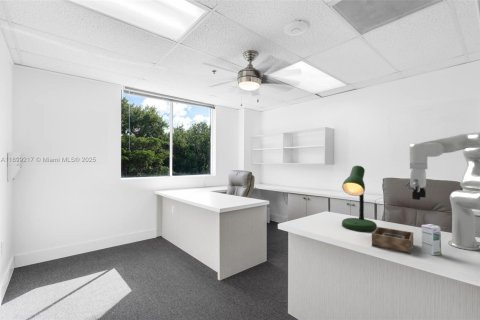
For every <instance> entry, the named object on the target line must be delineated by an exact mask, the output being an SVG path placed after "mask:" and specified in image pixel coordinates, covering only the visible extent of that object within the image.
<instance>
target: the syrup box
mask: <svg viewBox="0 0 480 320" xmlns="http://www.w3.org/2000/svg"><path fill="white" fill-rule="evenodd" d="M441 232H442V231H441V226H440V225H435V224H432V223H429V224H422V225H421V252H422V253H425V254H428V255H431V256H438V255H442V247H441V246H442V242H441V241H442V240H441V239H442V238H441V236H442V235H441Z"/></svg>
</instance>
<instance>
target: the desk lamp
mask: <svg viewBox="0 0 480 320" xmlns="http://www.w3.org/2000/svg"><path fill="white" fill-rule="evenodd" d="M365 171H366V170H365V168H364V167H363V166H362V165H354V166H353V167H352V169H351V171H350V174H349V176H348V177H347V178H346V179H345V180H344V181H343V183H342V185H341V189H342V190H343V192H344V193H346V194H347V195H350V196H356V197H357V196H358V197H359V207H358V209H359V211H358V212H359V213H358V215H359V216H358V217H347V218H344V219H342V221H341V227H343V229H346V230H350V231H356V232H361V233H364V232H365V233H373V232H374V230H375V229H376V228H377V227H378V225H377V223H376V222H374V221H373V220H370V219H366V218H365V213H364V212H365V211H364V210H365V208H364V207H365V203H364V202H365V199H364V198H365V195H364V194H365V191H366V186H365V185H366V184H365V181H364V175H365Z"/></svg>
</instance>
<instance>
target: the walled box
mask: <svg viewBox="0 0 480 320" xmlns="http://www.w3.org/2000/svg"><path fill="white" fill-rule="evenodd" d="M371 247H374V248H379V249H384V250H389V251H394V252H399V253H403V254H404V253H405V254H407V255H408V254H409V255H412V251H413V248H414V232H412V231H406V230H398V229H394V228H388V227H381V226H377V228H376V229H375V230H374V231H373V232H371Z"/></svg>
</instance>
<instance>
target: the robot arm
mask: <svg viewBox="0 0 480 320" xmlns="http://www.w3.org/2000/svg"><path fill="white" fill-rule="evenodd" d="M458 151H462V154H463V157H464V160H465V161H466V165H467V167H466V169H465V172H464V174H463V176H462V178H461V180H460V182H459V183H460V184H459V185H460V187H461V189H459V190H454V191H452V192H451V193H450V195H449V201H450V206H451V218H452V219H451V229H452V230H451V237H452V239H451V240H449V241H448V245H450V246H451V247H454V248H457V249H462V250H468V251H479V250H480V241H477V239H476V215H475V214H476V213H474V211H473V210H475V211H476V210H477V211H480V132H479V131H478V132H470V133H469V132H467V133H461V134H457V135H453V136H449V137H444V138H443V137H442V138H438V139H434V140H428V141H423V142H420V143H419V142H418V143H411V144H410V145H409V169H410V182H409V184H410V185H409V187H410V188H412V190H411V192H412V195H411V196H412V199H413V200H416V201H417V200H418V201H420V200H421V198H427V197H426V196H427V195H426V194H427V193H426V186H427V173H426V170H428V158H433V157H434V158H436V157H440V156H441V155H443V154H448V153H454V152H458ZM462 189H463V190H462Z"/></svg>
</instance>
